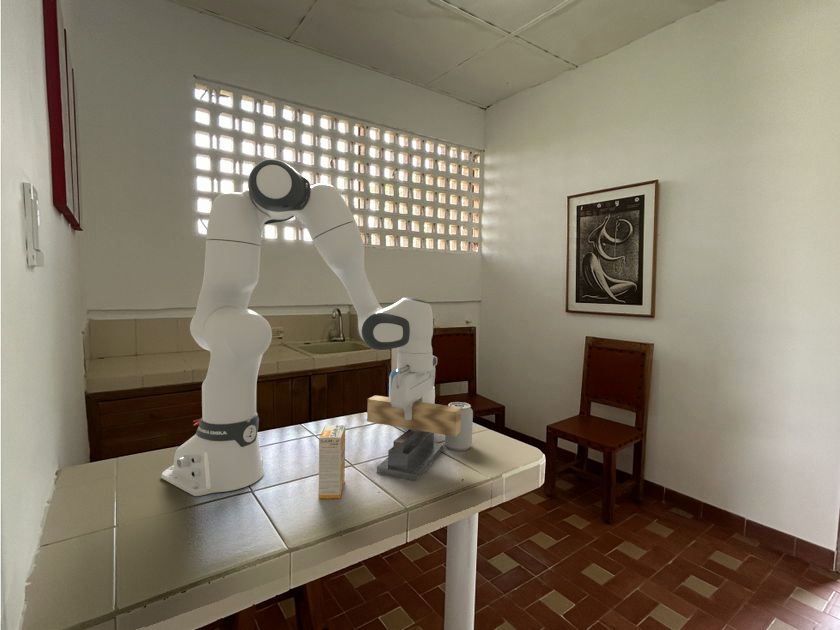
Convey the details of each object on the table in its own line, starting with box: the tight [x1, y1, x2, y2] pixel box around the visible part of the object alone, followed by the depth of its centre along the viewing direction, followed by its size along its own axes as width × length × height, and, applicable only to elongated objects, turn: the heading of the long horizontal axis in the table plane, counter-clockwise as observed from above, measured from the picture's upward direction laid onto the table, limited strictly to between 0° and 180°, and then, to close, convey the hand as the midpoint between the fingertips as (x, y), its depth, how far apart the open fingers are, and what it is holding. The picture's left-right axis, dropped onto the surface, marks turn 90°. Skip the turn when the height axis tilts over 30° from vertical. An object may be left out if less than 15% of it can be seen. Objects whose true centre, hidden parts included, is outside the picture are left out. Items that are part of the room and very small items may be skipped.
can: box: [444, 401, 474, 452], centre depth 115 cm, size 8×8×12 cm
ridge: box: [376, 429, 445, 482], centre depth 105 cm, size 10×20×8 cm, turn 158°
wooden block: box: [366, 395, 461, 437], centre depth 105 cm, size 24×4×6 cm, turn 68°
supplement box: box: [317, 424, 346, 500], centre depth 89 cm, size 8×5×13 cm, turn 4°
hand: (413, 416), depth 105 cm, fingers closed on wooden block, 4 cm apart
